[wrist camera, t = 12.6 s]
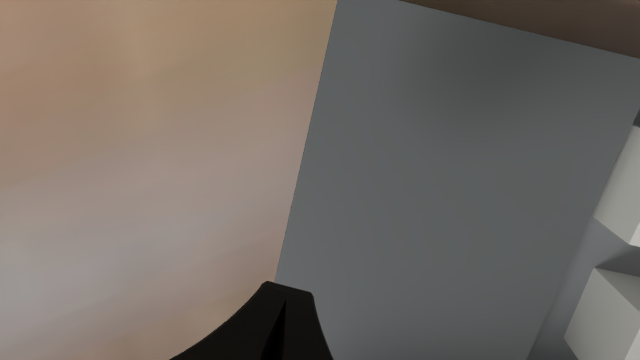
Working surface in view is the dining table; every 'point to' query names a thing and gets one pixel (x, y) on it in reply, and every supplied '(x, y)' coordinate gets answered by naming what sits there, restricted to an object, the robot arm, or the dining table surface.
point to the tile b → (623, 192)
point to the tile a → (607, 318)
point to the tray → (582, 284)
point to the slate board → (448, 180)
